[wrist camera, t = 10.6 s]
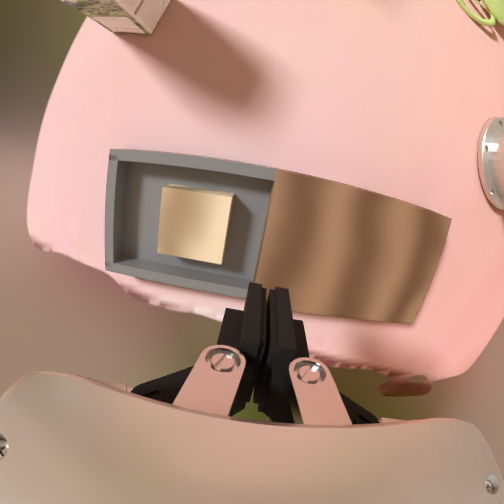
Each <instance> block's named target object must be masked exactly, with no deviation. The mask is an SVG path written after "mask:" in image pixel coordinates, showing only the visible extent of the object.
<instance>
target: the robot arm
mask: <svg viewBox="0 0 504 504" xmlns="http://www.w3.org/2000/svg"><path fill="white" fill-rule="evenodd" d="M478 168H479V175H480V179H481V183H482V187H483V190H484V192H485V194H486V196H487V198H488V200H489V201H490V202H491V204H492V205H493V206H495V207H496V208H498V209H501V210H504V118H498V117H496V118H492V119H490V120H489V121H487V123H486V124H485V125H484V127H483V129H482V131H481V135H480V139H479V145H478ZM266 290H267V289H266V288H262V284H259V283H253V282H249V286H248V291H247V296H246V301H245V307H244V311H241V310H235V309H230V308H226V310H225V314H224V318H223V322H222V326H221V330H220V334H219V338H218V342H217V345H214V346H210V347H208V348H206V349H205V350H204V351H203V352H202V353H201V355H200V357H199V358H198V360H197V362H196V364H195V365H194V366H192V367H189V368H187V369H184V370H181V371H178V372H176V373H172V374H169V375H167V376H164V377H161V378H158V379H155V380H152V381H149V382H145V383H142V384H140V385H138V386H136V387H135V388H128V387H127V385H126V384H121V383H114V382H109V381H103V380H97V379H92V378H87V377H82V376H77V375H71V374H66V373H58V372H47V371H45V372H44V371H42V372H33V373H30V374H27V375H26V376H24V377H22V378H21V379H19V380H18V381H17V382H15V383H14V384H13V385H12V386H11V387H10V388H9V389H8V390H7V391H6V392H5V393H4V394H3V396H2V397H1V398H0V504H504V482H503V479H502V476H501V474H500V471H499V469H498V466H497V464H496V461H495V459H494V457H493V454H492V452H491V450H490V448H489V446H488V444H487V443H486V441H485V439H484V437H483V436H482V434H481V433H480V431H479V430H478V429H477V428H476V427H475V426H474V425H473V424H471V423H469V422H466V421H463V420H458V419H453V418H429V419H419V420H409V421H406V420H397V419H388V418H381V419H380V420H378V419H377V418H376V417H375V416H374V415H373V414H372V413H370V412H368V411H367V410H365V409H364V408H362V407H361V406H359V405H358V404H356V403H355V402H353V401H352V400H350V399H349V398H347V397H346V396H345V395H343V394H341V393H340V392H339V391H338V389H337V387H336V385H335V383H334V381H333V378H332V376H331V373H330V371H329V369H328V368H327V367H326V366H325V365H324V364H323V363H322V362H320V361H318V360H316V359H312V358H309V352H308V347H307V341H306V335H305V330H304V325H303V321H302V320H295V319H293V317H292V309H291V302H290V295H289V289H287V288H281V287H275V289H274V290H273V289H270V291H269V295H268V299H267V303H266ZM253 388H254V397H253V403H258V411H259V412H263V413H265V414H266V415H267V416H268V417H269V418H268V421H259V420H251V419H244V418H237V417H233V415H234V414H236V413H237V412H239V411H241V410H243V409H244V408H245V404H246V402H249V401H250V398H251V395H252V392H253Z"/></svg>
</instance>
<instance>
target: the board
mask: <svg viewBox="0 0 504 504" xmlns="http://www.w3.org/2000/svg"><path fill="white" fill-rule="evenodd" d="M275 169H277V168H275ZM451 220H452V219H450V218H448V217H446V216H443V215H441V214H439V213H436V212H434V211H431V210H428V209H426V208H423V207H420V206H417V205H414V204H411V203H408V202H405V201H402V200H399V199H395V198H392V197H389V196H386V195H382V194H379V193H376V192H372V191H369V190H365V189H362V188H358V187H354V186H351V185H347V184H343V183H339V182H335V181H331V180H327V179H323V178H319V177H315V176H310V175H306V174H301V173H297V172H292V171H287V170H282V169H277V171H276V176H275V181H272V187H271V192H270V197H269V202H268V207H267V212H266V217H265V222H264V227H263V233H262V238H261V243H260V248H259V253H258V258H257V263H256V268H255V273H254V278H253V283H259V284H262V288H266V289H267V290H266V303H267V299H268V295H269V291H270V289H273V290H274V289H275V287H281V288H287V289H289V295H290V302H291V309H292V311H295V312H302V313H310V314H318V315H326V316H334V317H343V318H352V319H362V320H372V321H383V322H395V323H408V324H413V322H414V320H415V318H416V316H417V313H418V311H419V309H420V307H421V305H422V302H423V300H424V298H425V295H426V293H427V291H428V288H429V286H430V283H431V281H432V278H433V275H434V273H435V270H436V267H437V265H438V262H439V259H440V256H441V253H442V250H443V247H444V244H445V241H446V238H447V234H448V231H449V227H450V224H451Z"/></svg>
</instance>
